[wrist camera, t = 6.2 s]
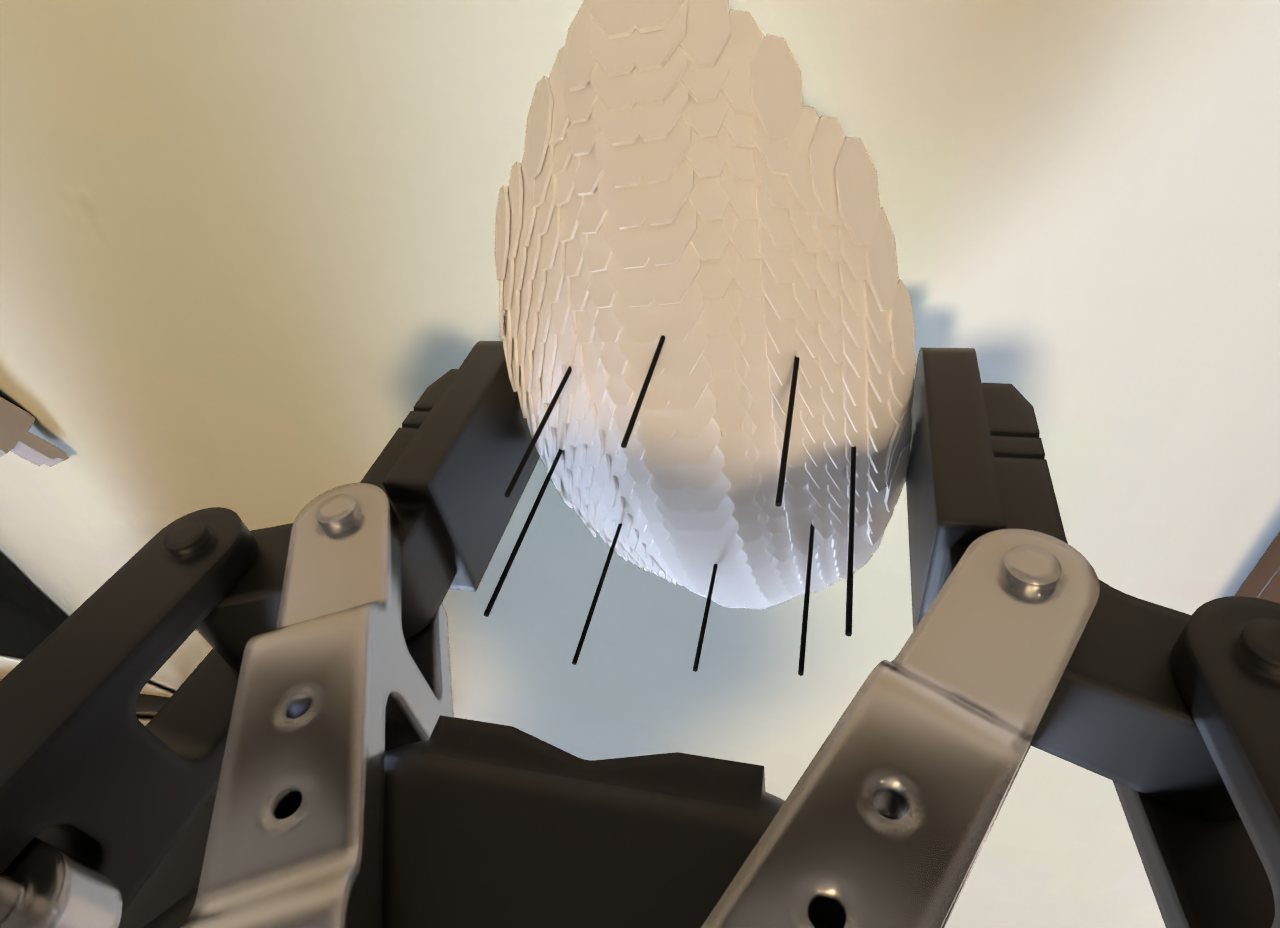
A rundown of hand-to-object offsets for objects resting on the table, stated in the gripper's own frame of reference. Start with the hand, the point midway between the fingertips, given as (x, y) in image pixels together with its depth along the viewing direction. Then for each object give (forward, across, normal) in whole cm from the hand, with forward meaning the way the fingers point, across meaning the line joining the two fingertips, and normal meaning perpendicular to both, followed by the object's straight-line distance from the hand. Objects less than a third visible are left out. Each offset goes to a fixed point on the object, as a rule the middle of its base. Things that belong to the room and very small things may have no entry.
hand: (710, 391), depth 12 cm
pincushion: (+1, 0, 0) cm, 1 cm away
